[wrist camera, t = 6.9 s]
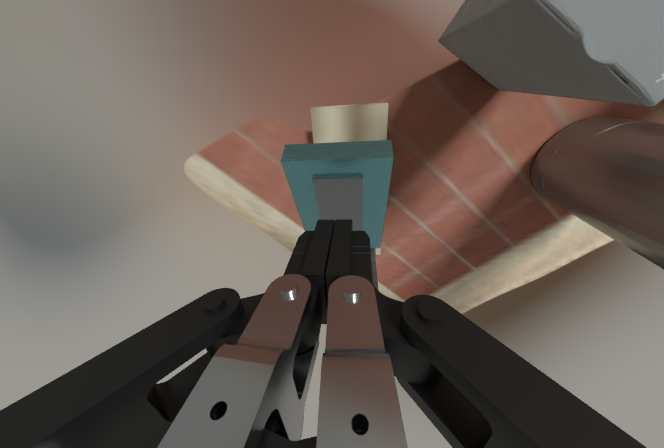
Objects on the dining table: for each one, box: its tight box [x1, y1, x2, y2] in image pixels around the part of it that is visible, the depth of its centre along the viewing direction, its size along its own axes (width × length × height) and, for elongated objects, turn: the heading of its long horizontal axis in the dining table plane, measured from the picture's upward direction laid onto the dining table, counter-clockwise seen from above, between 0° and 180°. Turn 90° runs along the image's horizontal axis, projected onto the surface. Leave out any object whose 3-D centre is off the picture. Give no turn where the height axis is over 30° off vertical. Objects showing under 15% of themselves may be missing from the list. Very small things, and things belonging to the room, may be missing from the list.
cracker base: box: [310, 103, 388, 290], centre depth 25 cm, size 8×19×13 cm, turn 4°
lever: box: [281, 140, 394, 248], centre depth 19 cm, size 5×17×11 cm, turn 4°
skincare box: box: [439, 0, 664, 106], centre depth 15 cm, size 8×7×16 cm
